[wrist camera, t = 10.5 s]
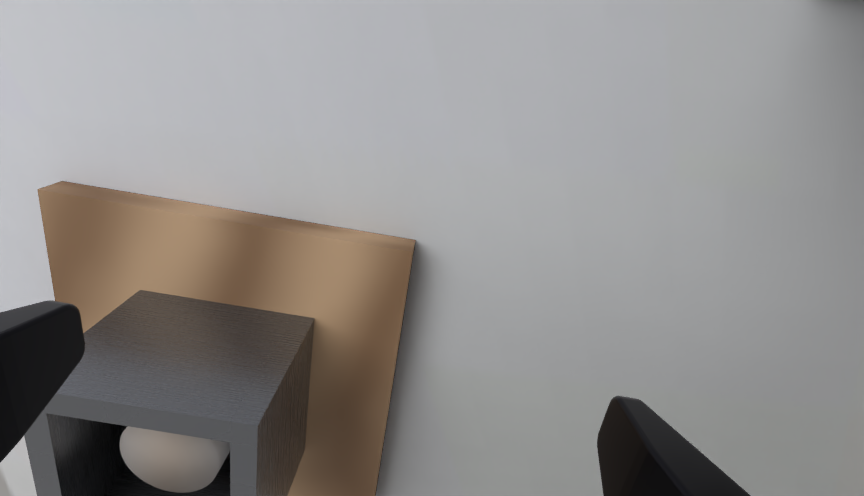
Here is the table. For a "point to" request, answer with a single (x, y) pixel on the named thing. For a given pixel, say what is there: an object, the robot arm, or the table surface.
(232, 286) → the board
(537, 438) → the table surface
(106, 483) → the duct collar
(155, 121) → the table surface
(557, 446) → the table surface
